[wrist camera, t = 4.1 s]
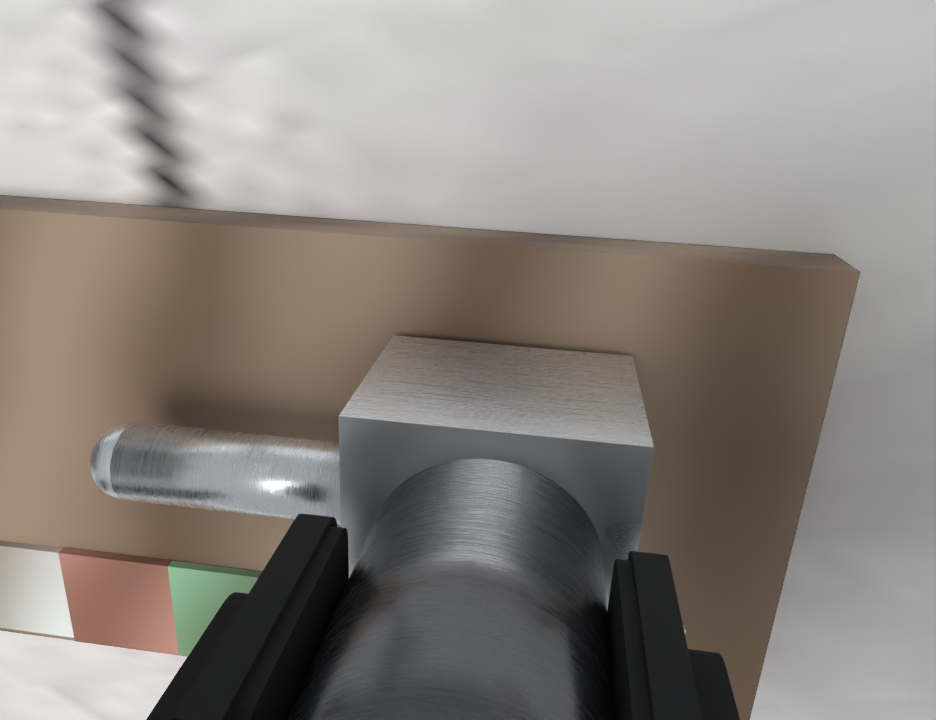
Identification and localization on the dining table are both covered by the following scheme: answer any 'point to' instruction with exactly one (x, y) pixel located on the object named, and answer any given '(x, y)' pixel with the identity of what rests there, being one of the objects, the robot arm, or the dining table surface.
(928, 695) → the dining table surface
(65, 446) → the gauge base
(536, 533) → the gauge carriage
